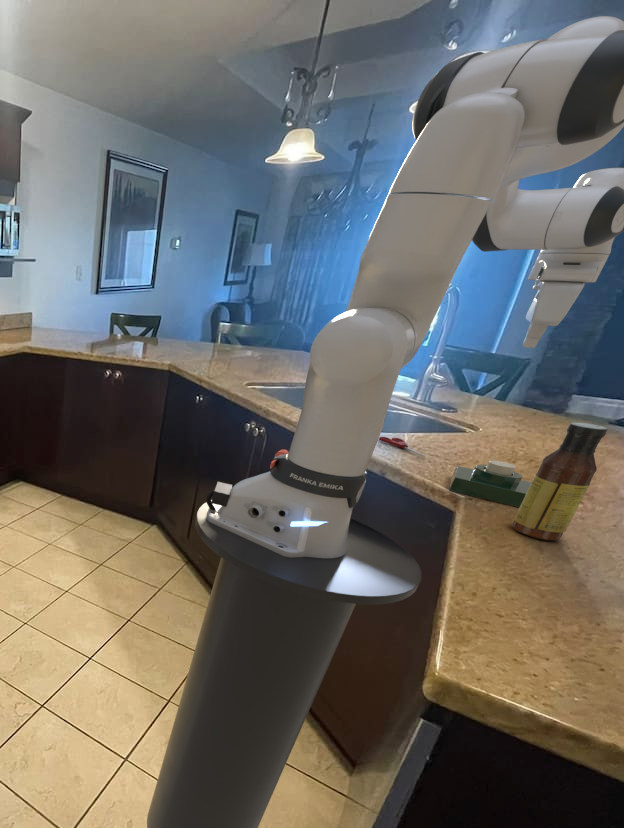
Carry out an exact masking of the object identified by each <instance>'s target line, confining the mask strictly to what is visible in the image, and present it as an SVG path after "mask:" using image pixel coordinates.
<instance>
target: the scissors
mask: <svg viewBox="0 0 624 828" xmlns="http://www.w3.org/2000/svg"><path fill="white" fill-rule="evenodd" d="M378 441H381V442H383V443H386V444H389V445H392V446H396V447H398V448H401V449H405V450H407V451H410V452H412V453H414V454H416V455H418V456H420V457H424V455H423V454H422V453H420V452H418V451H416V450H414V449H412V448H410V447H409V445H408V444H407V442H406V441H405V440H404V439H402V438H400V437H392V438H390V437H387V436H379V439H378Z"/></svg>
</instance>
